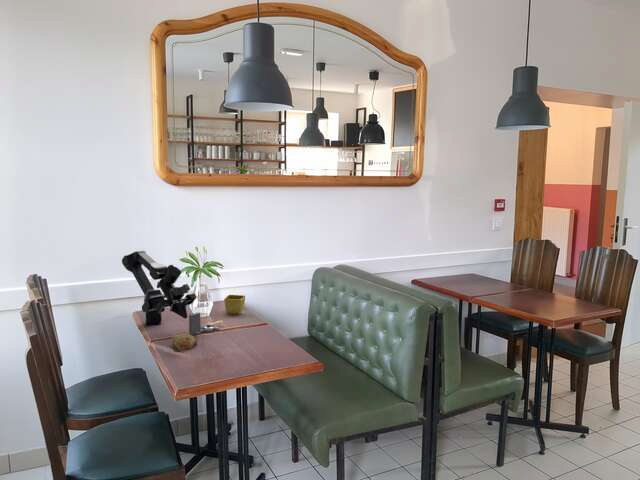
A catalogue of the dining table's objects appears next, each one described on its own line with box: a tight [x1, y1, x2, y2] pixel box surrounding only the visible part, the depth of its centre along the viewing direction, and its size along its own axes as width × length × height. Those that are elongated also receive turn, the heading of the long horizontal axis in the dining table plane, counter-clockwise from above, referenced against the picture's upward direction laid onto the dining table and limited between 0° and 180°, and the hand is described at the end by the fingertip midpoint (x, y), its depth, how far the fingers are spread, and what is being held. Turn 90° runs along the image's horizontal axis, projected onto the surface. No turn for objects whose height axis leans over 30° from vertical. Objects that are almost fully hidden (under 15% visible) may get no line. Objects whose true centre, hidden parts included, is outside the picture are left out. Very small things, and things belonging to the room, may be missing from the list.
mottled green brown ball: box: [170, 333, 198, 354], centre depth 203 cm, size 10×10×8 cm
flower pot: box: [223, 294, 246, 315], centre depth 252 cm, size 9×9×9 cm
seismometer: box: [188, 312, 224, 336], centre depth 223 cm, size 19×9×9 cm, turn 145°
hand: (186, 318), depth 220 cm, fingers closed
